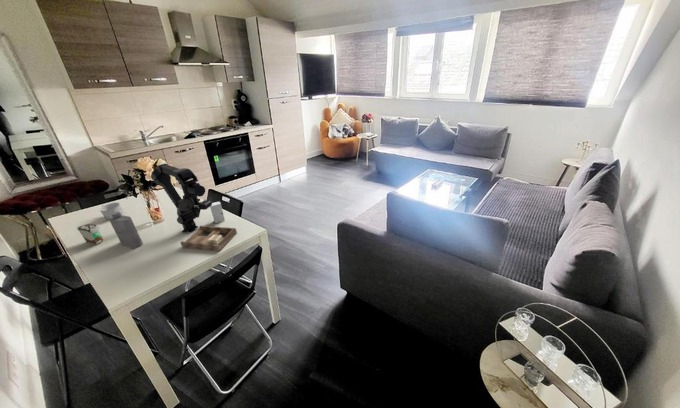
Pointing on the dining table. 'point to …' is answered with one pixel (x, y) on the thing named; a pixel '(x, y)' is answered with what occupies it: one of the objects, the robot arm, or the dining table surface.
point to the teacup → (110, 209)
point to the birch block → (215, 239)
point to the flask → (125, 230)
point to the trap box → (206, 232)
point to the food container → (91, 233)
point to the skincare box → (217, 212)
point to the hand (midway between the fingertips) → (197, 217)
